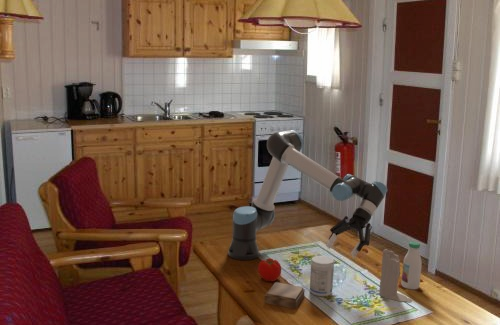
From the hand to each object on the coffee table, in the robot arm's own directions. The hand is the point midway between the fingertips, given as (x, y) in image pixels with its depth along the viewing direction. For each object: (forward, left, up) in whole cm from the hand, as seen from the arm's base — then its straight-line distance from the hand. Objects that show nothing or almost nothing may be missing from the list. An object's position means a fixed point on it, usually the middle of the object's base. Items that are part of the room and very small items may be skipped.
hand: (339, 251), depth 231 cm
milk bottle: (+30, +14, -16) cm, 37 cm away
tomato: (-29, -5, -16) cm, 34 cm away
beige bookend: (+25, 0, -16) cm, 30 cm away
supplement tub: (-5, -9, -16) cm, 19 cm away
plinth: (-17, -22, -16) cm, 32 cm away
